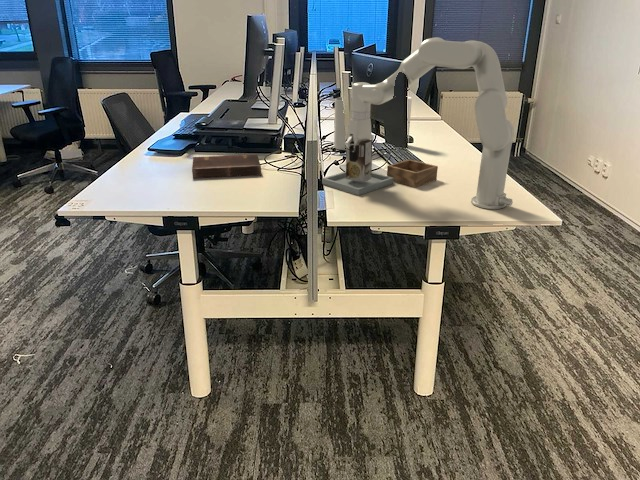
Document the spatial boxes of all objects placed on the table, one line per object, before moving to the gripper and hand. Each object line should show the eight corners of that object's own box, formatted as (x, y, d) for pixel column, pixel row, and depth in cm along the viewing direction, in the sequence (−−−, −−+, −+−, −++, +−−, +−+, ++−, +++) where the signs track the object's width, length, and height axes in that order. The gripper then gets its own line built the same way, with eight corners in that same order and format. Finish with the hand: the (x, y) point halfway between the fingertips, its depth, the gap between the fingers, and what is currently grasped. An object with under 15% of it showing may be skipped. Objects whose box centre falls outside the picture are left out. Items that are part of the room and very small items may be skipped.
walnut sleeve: (436, 179, 222) (437, 166, 220) (415, 187, 212) (416, 173, 210) (407, 172, 232) (408, 159, 229) (386, 179, 222) (387, 165, 220)
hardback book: (193, 179, 222) (191, 168, 220) (194, 167, 239) (193, 157, 237) (261, 176, 227) (260, 165, 225) (257, 165, 244) (257, 154, 242)
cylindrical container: (407, 147, 274) (411, 98, 264) (394, 146, 275) (397, 98, 265) (408, 144, 280) (412, 96, 270) (395, 143, 282) (398, 96, 272)
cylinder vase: (356, 151, 266) (358, 101, 256) (332, 150, 268) (333, 100, 258) (359, 145, 277) (360, 97, 267) (335, 144, 279) (336, 96, 269)
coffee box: (371, 178, 216) (373, 140, 209) (364, 182, 211) (366, 143, 204) (352, 175, 220) (353, 137, 214) (345, 179, 215) (345, 140, 209)
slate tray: (393, 183, 217) (393, 177, 216) (358, 195, 203) (358, 189, 202) (357, 173, 230) (357, 168, 229) (322, 184, 216) (322, 178, 215)
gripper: (367, 111, 213) (366, 154, 220) (338, 117, 202) (337, 161, 209) (382, 113, 208) (379, 157, 215) (352, 119, 197) (351, 165, 204)
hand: (359, 159), depth 212 cm, fingers closed on coffee box, 7 cm apart
